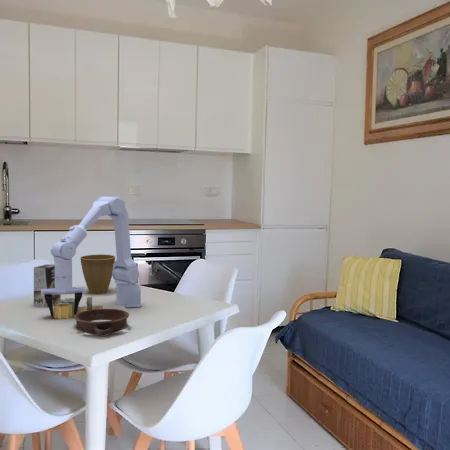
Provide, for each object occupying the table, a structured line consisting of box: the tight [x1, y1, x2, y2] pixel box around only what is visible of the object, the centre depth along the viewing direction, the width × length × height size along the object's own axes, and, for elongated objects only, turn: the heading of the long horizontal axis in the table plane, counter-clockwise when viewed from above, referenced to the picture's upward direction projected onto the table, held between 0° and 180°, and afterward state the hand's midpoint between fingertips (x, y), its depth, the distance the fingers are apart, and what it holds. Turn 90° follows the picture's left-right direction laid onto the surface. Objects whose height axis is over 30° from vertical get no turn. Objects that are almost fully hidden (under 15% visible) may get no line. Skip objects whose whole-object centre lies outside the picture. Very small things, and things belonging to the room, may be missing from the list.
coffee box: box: [33, 264, 62, 309], centre depth 185 cm, size 9×6×16 cm
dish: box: [73, 308, 130, 336], centre depth 159 cm, size 17×22×5 cm
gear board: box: [50, 296, 104, 320], centre depth 175 cm, size 18×16×6 cm
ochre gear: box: [53, 303, 73, 320], centre depth 169 cm, size 6×6×4 cm
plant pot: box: [79, 253, 116, 295], centre depth 213 cm, size 15×15×16 cm
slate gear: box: [61, 297, 78, 312], centre depth 177 cm, size 6×6×4 cm
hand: (63, 314), depth 169 cm, fingers open, 7 cm apart
